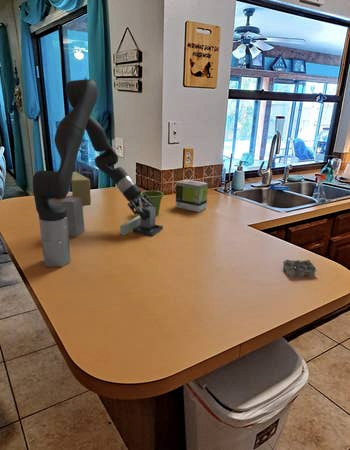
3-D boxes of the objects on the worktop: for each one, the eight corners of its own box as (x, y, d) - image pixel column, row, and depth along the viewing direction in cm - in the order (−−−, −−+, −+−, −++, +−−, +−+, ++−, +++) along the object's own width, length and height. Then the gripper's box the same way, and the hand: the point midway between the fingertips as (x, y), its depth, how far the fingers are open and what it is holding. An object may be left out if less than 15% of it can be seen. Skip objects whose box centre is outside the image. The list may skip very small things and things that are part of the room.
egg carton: (286, 277, 119) (288, 267, 118) (280, 267, 126) (282, 257, 125) (316, 278, 119) (318, 267, 118) (308, 268, 126) (310, 258, 125)
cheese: (66, 196, 202) (64, 171, 197) (83, 194, 207) (81, 170, 201) (73, 206, 184) (71, 179, 179) (91, 204, 188) (90, 178, 183)
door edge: (124, 235, 149) (124, 226, 147) (120, 234, 149) (120, 225, 148) (146, 221, 166) (146, 213, 164) (142, 220, 167) (142, 213, 165)
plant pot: (159, 209, 184) (159, 189, 180) (165, 216, 173) (166, 195, 169) (138, 211, 180) (138, 190, 176) (143, 218, 170) (143, 197, 166)
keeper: (152, 236, 149) (152, 233, 148) (133, 232, 152) (133, 228, 152) (162, 229, 157) (162, 226, 157) (144, 225, 161) (144, 222, 160)
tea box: (206, 208, 190) (208, 182, 185) (198, 212, 182) (200, 186, 177) (184, 203, 197) (185, 178, 192) (174, 207, 189) (175, 181, 184)
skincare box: (76, 237, 144) (74, 202, 138) (61, 236, 145) (58, 200, 140) (85, 230, 152) (83, 197, 146) (71, 229, 153) (68, 195, 147)
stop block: (150, 233, 152) (150, 210, 148) (140, 231, 154) (140, 208, 150) (155, 229, 156) (155, 207, 152) (145, 227, 158) (145, 205, 154)
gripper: (125, 187, 144) (148, 216, 144) (141, 180, 156) (163, 208, 156) (115, 197, 148) (137, 226, 148) (132, 190, 160) (153, 216, 160)
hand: (150, 216), depth 152 cm, fingers open, 8 cm apart
